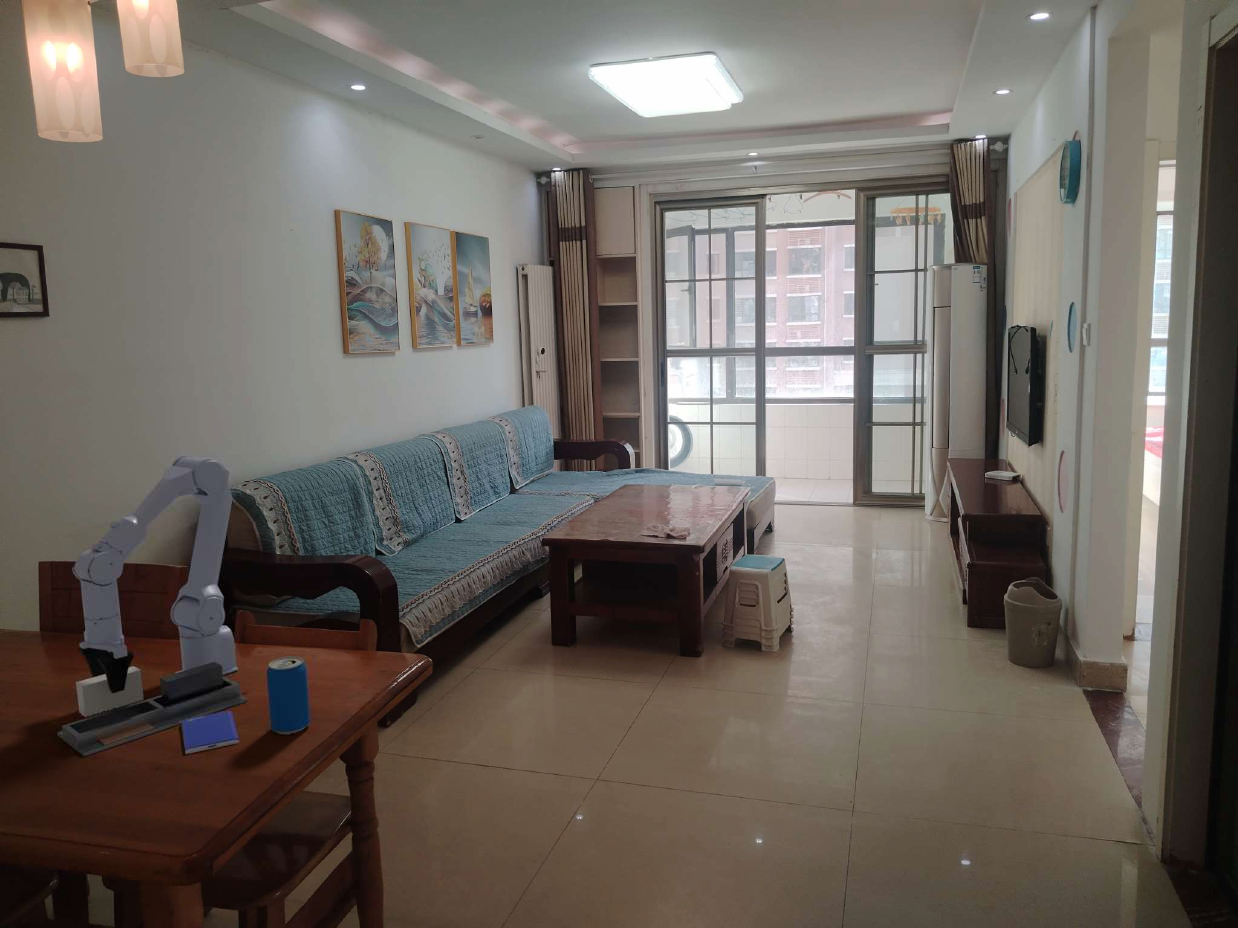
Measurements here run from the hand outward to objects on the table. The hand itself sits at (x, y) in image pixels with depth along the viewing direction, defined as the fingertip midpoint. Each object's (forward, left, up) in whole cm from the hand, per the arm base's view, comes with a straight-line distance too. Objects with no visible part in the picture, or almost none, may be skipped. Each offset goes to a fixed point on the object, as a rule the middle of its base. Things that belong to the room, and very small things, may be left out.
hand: (109, 686), depth 168 cm
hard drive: (-6, +26, -5) cm, 27 cm away
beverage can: (-16, +35, -4) cm, 39 cm away
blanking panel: (0, 0, -4) cm, 4 cm away
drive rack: (-3, +12, -4) cm, 13 cm away
